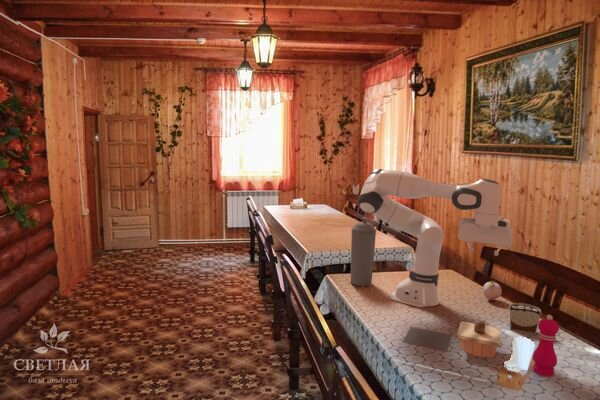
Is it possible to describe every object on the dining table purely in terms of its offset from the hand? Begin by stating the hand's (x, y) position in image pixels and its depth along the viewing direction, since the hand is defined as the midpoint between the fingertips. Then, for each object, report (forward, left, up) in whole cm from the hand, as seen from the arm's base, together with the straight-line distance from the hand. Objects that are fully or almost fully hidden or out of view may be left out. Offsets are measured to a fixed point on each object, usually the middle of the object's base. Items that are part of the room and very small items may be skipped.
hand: (483, 253), depth 183 cm
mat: (-16, -22, -31) cm, 41 cm away
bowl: (+2, -22, -31) cm, 38 cm away
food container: (+17, +8, -31) cm, 37 cm away
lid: (+2, -22, -25) cm, 33 cm away
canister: (-59, +30, -31) cm, 73 cm away
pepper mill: (+23, -28, -31) cm, 48 cm away
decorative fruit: (+4, +38, -31) cm, 49 cm away
